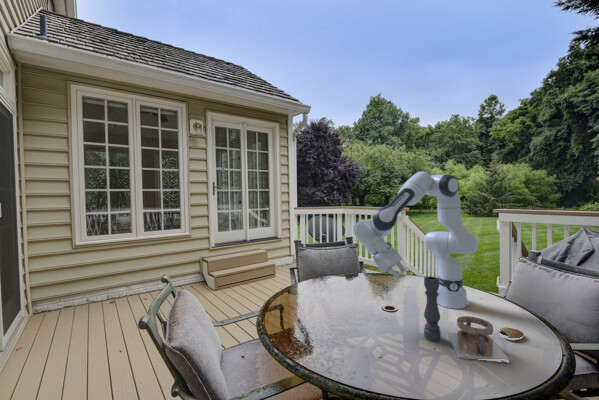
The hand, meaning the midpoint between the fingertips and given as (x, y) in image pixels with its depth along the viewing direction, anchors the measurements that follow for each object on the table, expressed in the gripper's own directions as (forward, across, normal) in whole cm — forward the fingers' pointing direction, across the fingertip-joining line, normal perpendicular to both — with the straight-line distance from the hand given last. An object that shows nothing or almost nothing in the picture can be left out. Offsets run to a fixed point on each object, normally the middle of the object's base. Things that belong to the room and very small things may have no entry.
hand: (401, 274), depth 120 cm
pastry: (+45, +20, -9) cm, 50 cm away
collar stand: (+37, +1, -2) cm, 37 cm away
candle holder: (+26, 0, +9) cm, 28 cm away
